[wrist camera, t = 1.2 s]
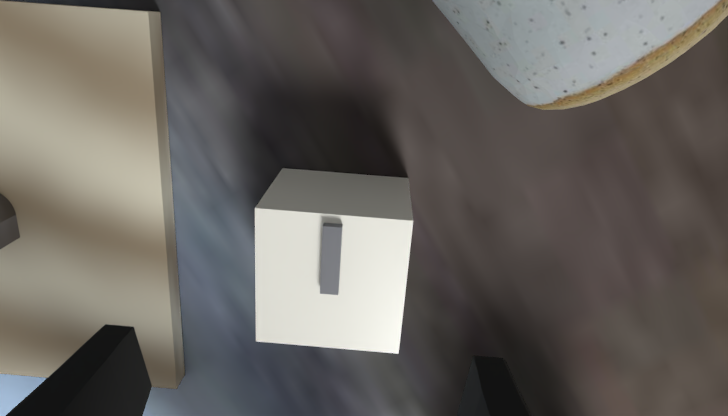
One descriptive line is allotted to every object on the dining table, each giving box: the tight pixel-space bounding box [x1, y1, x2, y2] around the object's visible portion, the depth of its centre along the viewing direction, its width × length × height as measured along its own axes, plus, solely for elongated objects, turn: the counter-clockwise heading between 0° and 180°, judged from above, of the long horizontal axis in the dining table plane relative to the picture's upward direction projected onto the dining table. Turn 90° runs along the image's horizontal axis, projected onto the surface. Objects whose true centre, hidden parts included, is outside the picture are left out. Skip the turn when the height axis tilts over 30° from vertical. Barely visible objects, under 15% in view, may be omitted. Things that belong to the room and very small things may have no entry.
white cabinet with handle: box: [255, 168, 413, 354], centre depth 19 cm, size 5×5×5 cm
